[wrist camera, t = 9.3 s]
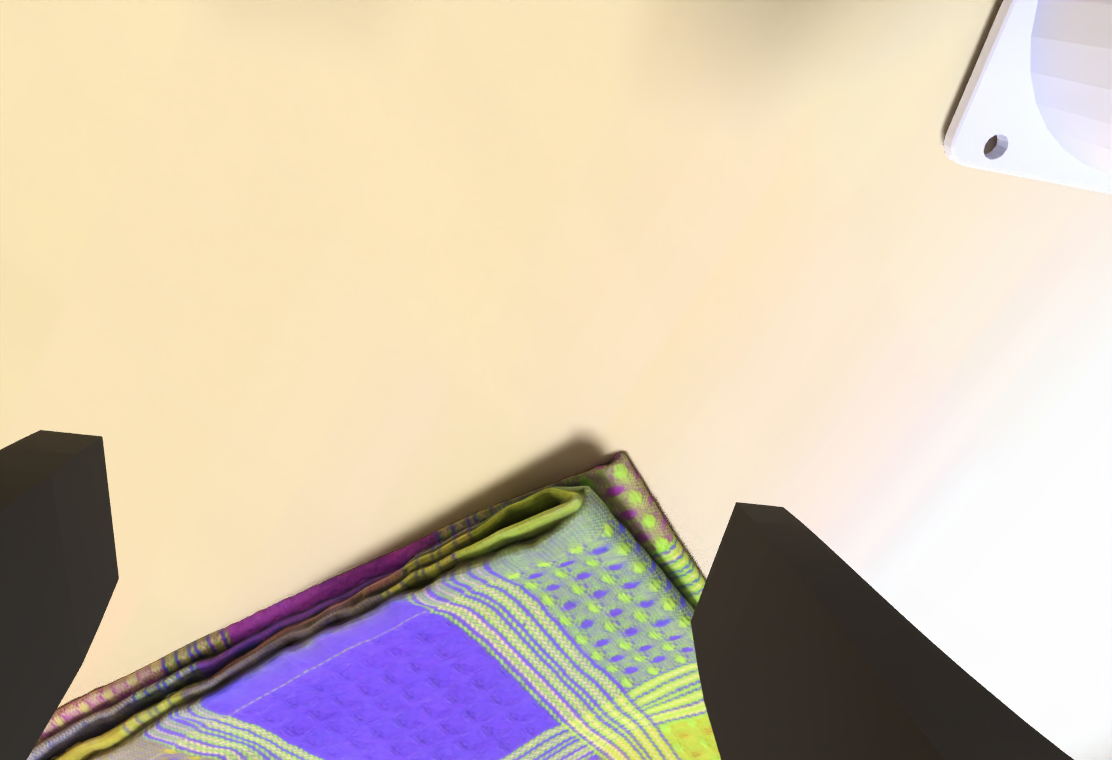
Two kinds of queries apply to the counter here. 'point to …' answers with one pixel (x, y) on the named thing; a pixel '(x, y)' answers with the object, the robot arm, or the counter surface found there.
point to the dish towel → (443, 651)
